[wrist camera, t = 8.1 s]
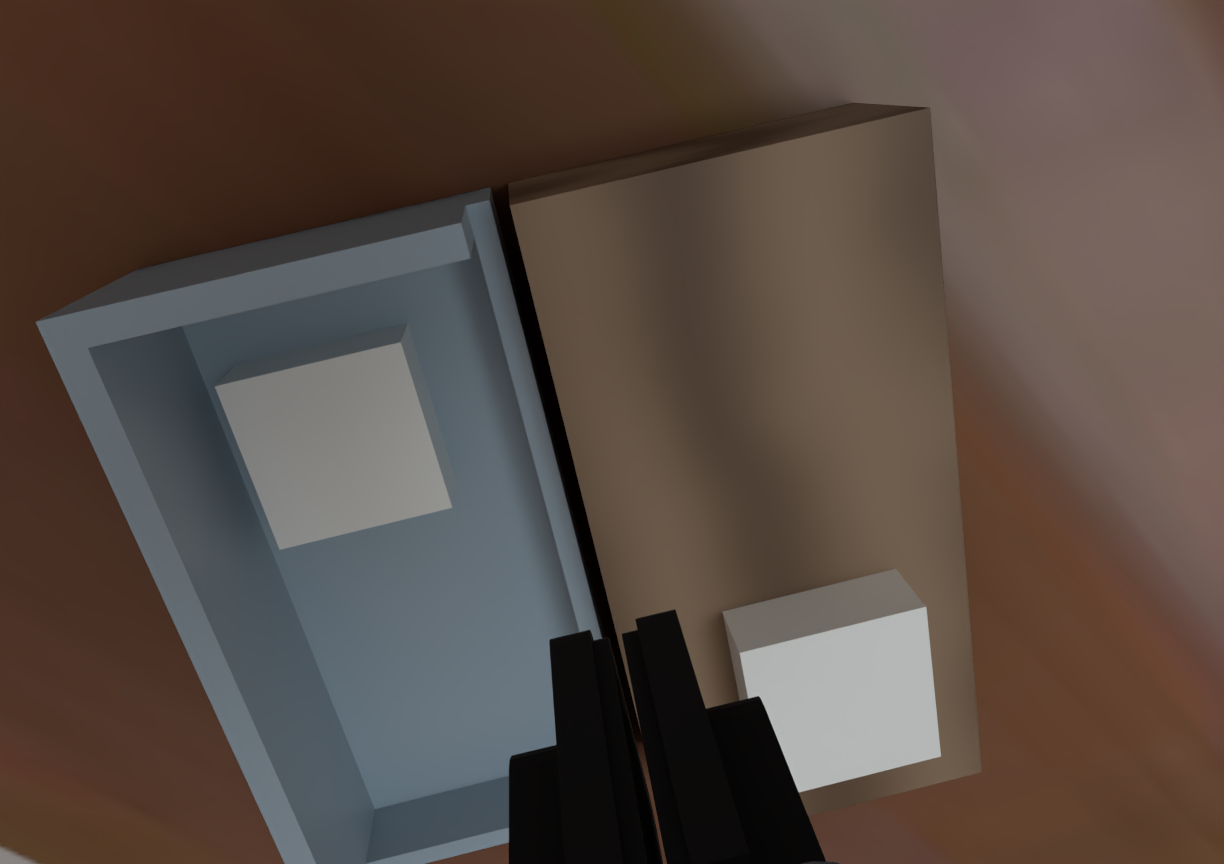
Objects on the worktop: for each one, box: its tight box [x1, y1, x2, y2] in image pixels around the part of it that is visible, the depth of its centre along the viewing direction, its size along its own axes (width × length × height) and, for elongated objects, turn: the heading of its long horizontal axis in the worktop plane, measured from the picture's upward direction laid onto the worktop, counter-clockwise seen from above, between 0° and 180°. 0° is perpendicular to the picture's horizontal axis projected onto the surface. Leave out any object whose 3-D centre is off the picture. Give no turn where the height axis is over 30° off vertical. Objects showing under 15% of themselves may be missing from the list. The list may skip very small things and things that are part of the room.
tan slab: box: [508, 103, 982, 816], centre depth 27 cm, size 10×20×5 cm, turn 12°
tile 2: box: [722, 569, 941, 792], centre depth 26 cm, size 5×5×2 cm
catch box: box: [36, 187, 605, 864], centre depth 27 cm, size 10×20×6 cm, turn 12°
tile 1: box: [215, 324, 456, 550], centre depth 26 cm, size 5×5×2 cm
